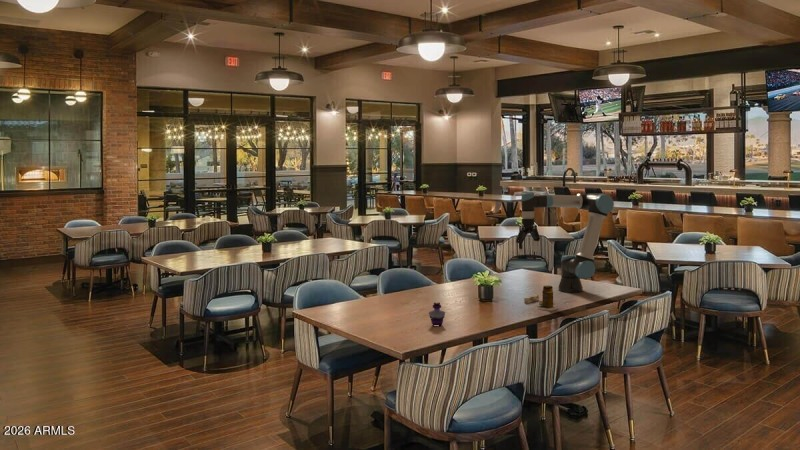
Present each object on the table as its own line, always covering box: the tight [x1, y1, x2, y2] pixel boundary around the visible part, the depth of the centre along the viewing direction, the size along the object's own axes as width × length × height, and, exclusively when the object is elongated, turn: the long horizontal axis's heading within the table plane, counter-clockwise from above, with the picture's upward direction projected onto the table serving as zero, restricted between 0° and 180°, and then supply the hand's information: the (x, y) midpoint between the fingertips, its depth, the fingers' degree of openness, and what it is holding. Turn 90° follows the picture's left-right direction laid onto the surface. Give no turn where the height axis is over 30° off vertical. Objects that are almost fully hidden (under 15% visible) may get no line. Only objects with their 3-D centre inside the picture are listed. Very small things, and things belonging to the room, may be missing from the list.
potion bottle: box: [428, 301, 446, 326], centre depth 330 cm, size 9×9×12 cm
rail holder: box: [523, 295, 542, 306], centre depth 376 cm, size 12×12×3 cm
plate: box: [536, 304, 558, 311], centre depth 363 cm, size 11×11×1 cm
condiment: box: [536, 285, 556, 309], centre depth 362 cm, size 7×8×12 cm
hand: (528, 252), depth 386 cm, fingers open, 13 cm apart
